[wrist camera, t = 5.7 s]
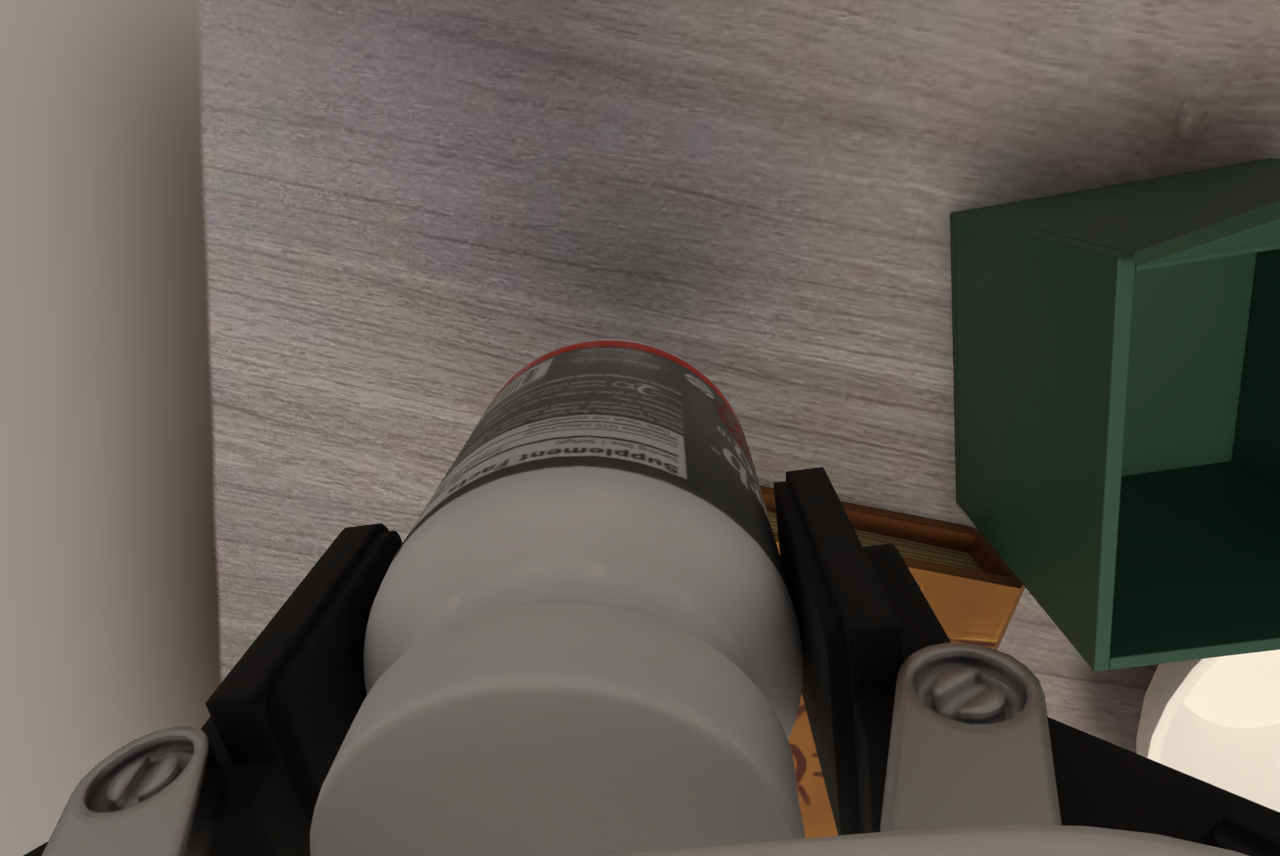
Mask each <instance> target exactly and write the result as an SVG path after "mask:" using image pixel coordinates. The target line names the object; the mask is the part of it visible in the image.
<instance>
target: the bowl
mask: <svg viewBox="0 0 1280 856" xmlns="http://www.w3.org/2000/svg"><path fill="white" fill-rule="evenodd" d="M1136 752H1137V754H1138V755H1141V756H1143V757H1146V758H1148V759H1151V760H1153V761H1156V762H1158V763H1160V764H1163V765H1165V766H1168V767H1170V768H1173V769H1175V770H1177V771H1180V772H1182V773H1185V774H1187V775H1190V776H1192V777H1195V778H1197V779H1199V780H1202V781H1204V782H1207V783H1209V784H1212V785H1214V786H1216V787H1219V788H1221V789H1224V790H1226V791H1229V792H1231V793H1233V794H1236V795H1238V796H1241V797H1243V798H1246V799H1248V800H1251V801H1253V802H1255V803H1258V804H1260V805H1263V806H1265V807H1268V808H1270V809H1272V810H1275V811H1277V812H1280V650H1272V651H1263V652H1255V653H1247V654H1238V655H1230V656H1222V657H1213V658H1205V659H1196V660H1188V661H1180V662H1171V663H1163V664H1159V665H1158V667H1157V669H1156V671H1155V673H1154V676H1153V678H1152V680H1151V682H1150V685H1149V687H1148V689H1147V691H1146V693H1145V696H1144V701H1143V706H1142V711H1141V716H1140V721H1139V727H1138V732H1137V738H1136Z"/></svg>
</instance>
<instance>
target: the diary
mask: <svg viewBox="0 0 1280 856" xmlns="http://www.w3.org/2000/svg"><path fill="white" fill-rule="evenodd" d="M759 487H760V490H761V494H762V497H763V499H764V503H765V507H766V510H767V514H768V517H769V521H770V524H771V528H772V531H773V535H774V538H775V541H776V544H777V548H778V551H779V554H780V549H779V539H778V528H777V518H776V507H775V497H774V489H773V488H768V487H763V486H759ZM841 504H842V506H843V508H844V510H845V512H846V514H847V516H848V518H849V520H850V522H851V524H852V526H853V528H854V530H855V532H856V534H857V536H858V538H859V540H860V542H861V544H862V546H863V547H864V546H873V545H881V544H889V543H891V544H894V545H895V547H896V548H897V549H898V551H899V553H900V554H901V556H902V558H903V560H904V561H905V563H906V565H907V567H908V568H909V570H910V572H911V573H912V575H913V577H914V579H915V580H916V582H917V584H918V586H919V587H920V589H921V591H922V593H923V594H924V596H925V598H926V599H927V601H928V603H929V605H930V606H931V608H932V610H933V612H934V613H935V615H936V617H937V618H938V620H939V622H940V624H941V625H942V627H943V629H944V631H945V632H946V634H947V636H948V638H949V639H950V641H951V643H970V644H975V645H980V646H985V647H990V648H992V649H995V650H997V649H998V646H999V644H1000V642H1001V640H1002V637H1003V635H1004V633H1005V631H1006V629H1007V626H1008V624H1009V622H1010V620H1011V617H1012V615H1013V613H1014V611H1015V609H1016V606H1017V604H1018V602H1019V600H1020V598H1021V595H1022V593H1023V591H1024V589H1025V586H1024V585H1023V583H1022V582H1021V581H1020V580H1019V578H1018V577H1017V576H1016V575H1015V574H1014V572H1013V571H1012V570H1011V569H1010V567H1009V566H1008V565H1007V564H1006V563H1005V561H1004V560H1003V559H1002V558H1001V556H1000V555H999V554H998V553H997V552H996V550H995V549H994V548H993V547H992V545H991V544H990V543H989V542H988V540H987V539H986V538H985V537H984V536H983V534H982V533H980V532H979V531H977V530H975V529H973V528H971V527H968V526H963V525H958V524H953V523H947V522H942V521H937V520H932V519H927V518H922V517H917V516H911V515H906V514H901V513H896V512H891V511H886V510H881V509H876V508H870V507H865V506H860V505H855V504H850V503H845V502H841ZM788 742H789V744H790V747H791V752H792V757H793V762H794V768H795V776H796V785H797V792H798V798H799V804H800V810H801V816H802V822H803V827H804V833H805V838H816V837H828V836H838V832H837V829H836V825H835V821H834V817H833V813H832V809H831V805H830V802H829V798H828V794H827V790H826V786H825V782H824V778H823V774H822V770H821V767H820V763H819V759H818V755H817V751H816V747H815V743H814V739H813V735H812V732H811V728H810V724H809V720H808V716H807V712H806V708H805V704H804V700H803V697H802V693H801V699H800V705H799V709H798V713H797V717H796V720H795V723H794V726H793V729H792V731H791V734H790V737H789V739H788Z"/></svg>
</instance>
